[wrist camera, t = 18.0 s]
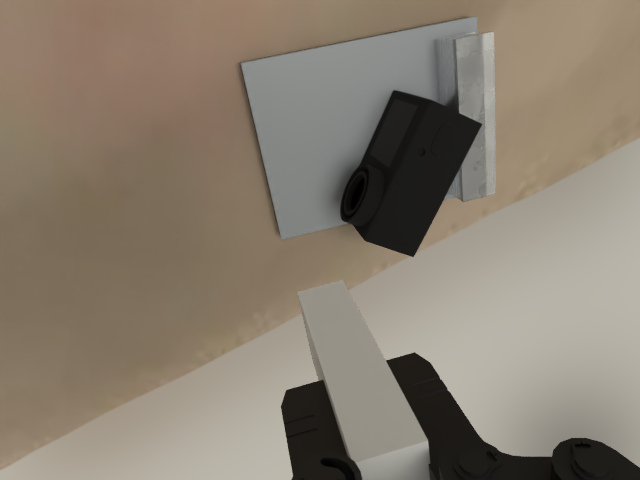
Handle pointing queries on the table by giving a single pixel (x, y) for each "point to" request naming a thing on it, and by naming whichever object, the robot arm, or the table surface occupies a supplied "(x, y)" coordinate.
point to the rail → (470, 106)
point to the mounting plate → (333, 114)
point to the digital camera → (406, 171)
